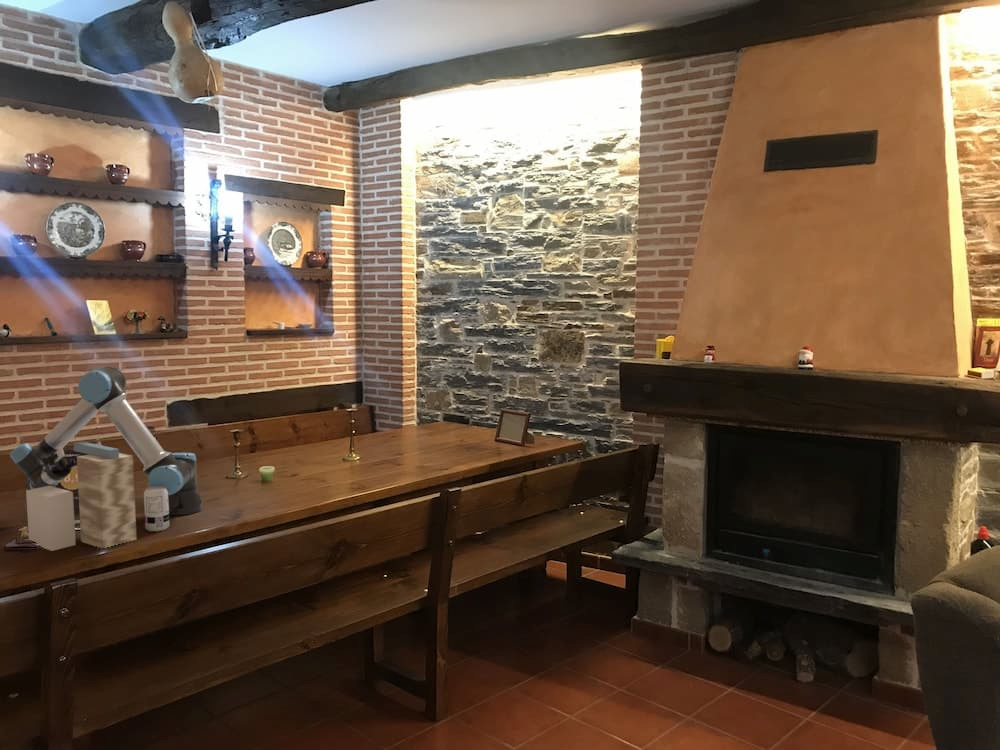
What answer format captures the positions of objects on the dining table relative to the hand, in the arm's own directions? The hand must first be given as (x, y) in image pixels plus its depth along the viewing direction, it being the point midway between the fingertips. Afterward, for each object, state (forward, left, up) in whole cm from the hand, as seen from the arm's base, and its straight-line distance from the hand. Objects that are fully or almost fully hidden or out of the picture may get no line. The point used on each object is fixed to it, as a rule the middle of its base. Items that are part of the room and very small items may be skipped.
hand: (82, 448), depth 286 cm
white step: (+12, +1, -31) cm, 34 cm away
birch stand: (-1, +13, -31) cm, 34 cm away
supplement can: (-19, +14, -32) cm, 39 cm away
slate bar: (-1, +8, -1) cm, 8 cm away
